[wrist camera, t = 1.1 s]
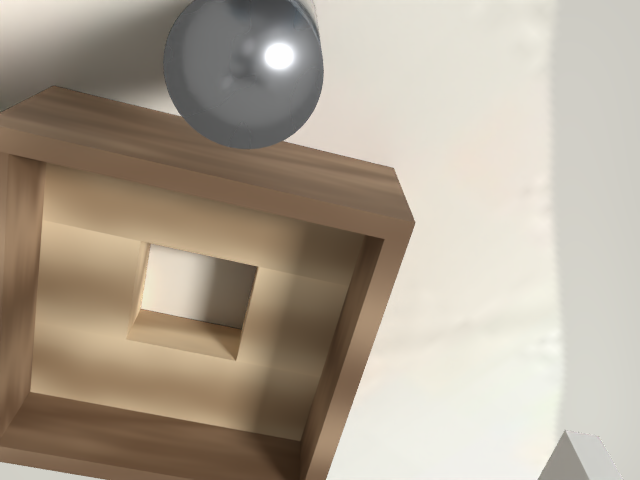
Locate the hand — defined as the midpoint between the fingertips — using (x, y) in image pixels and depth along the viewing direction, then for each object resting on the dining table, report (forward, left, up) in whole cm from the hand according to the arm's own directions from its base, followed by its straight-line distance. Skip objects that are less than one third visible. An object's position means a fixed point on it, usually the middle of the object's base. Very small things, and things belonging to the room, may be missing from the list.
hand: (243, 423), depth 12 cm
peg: (-6, -2, -20) cm, 21 cm away
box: (+8, -3, -20) cm, 22 cm away
